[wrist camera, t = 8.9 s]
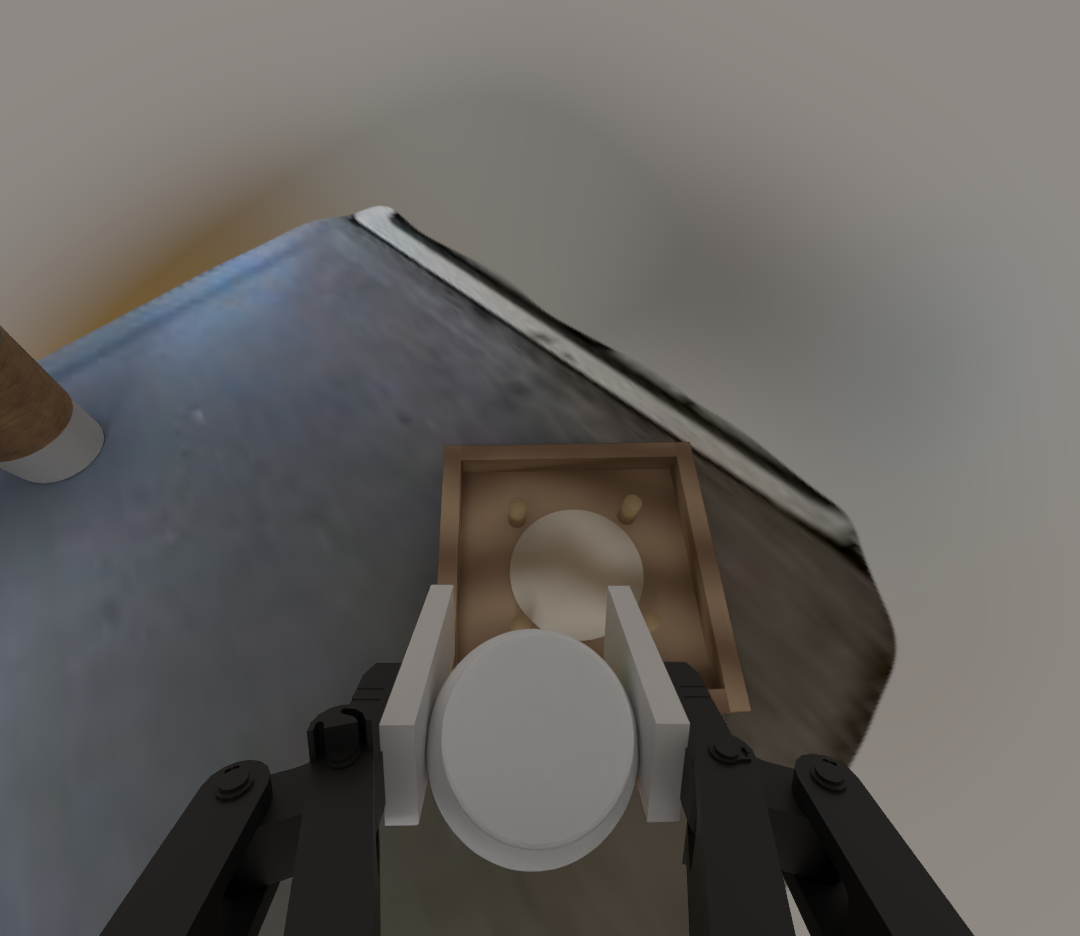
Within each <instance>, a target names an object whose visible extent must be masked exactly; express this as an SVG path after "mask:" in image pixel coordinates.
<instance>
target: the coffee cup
mask: <svg viewBox="0 0 1080 936" xmlns="http://www.w3.org/2000/svg"><path fill="white" fill-rule="evenodd" d="M103 443H104V434H103V430H102V428H101V427H100V425H99V424H98V423H97V422H96V421H95V420H94V419H93V418H92V417H91V416H90V415H89V414H88V413H87V412H86V411H85V410H84V409H82V408H81V407H80V406H79V405H78V404H77V403H76V402H75V401H74V400H73V399H72V398H71V397H70V396H69V395H68V393H67V392H66V391H65V390H64V389H63V388H62V387H61V386H60V385H59V384H58V383H57V382H56V381H55V380H54V379H53V378H52V377H51V376H50V375H49V374H48V373H47V372H46V371H45V370H44V369H43V368H42V367H41V366H40V365H39V364H38V363H37V362H36V361H35V360H34V359H33V358H32V357H31V356H30V355H29V354H28V353H27V352H26V351H25V350H24V349H23V348H22V347H21V346H20V345H19V344H18V343H17V342H16V341H15V340H14V339H13V338H12V337H11V336H10V335H9V334H8V333H7V332H6V331H5V330H4V329H3V328H2V327H1V326H0V468H1V469H3V470H5V471H7V472H9V473H12V474H14V475H16V476H18V477H20V478H23V479H25V480H27V481H30V482H34V483H53V482H58V481H61V480H65V479H67V478H69V477H72V476H74V475H76V474H77V473H79V472H81V471H82V470H83V469H85V468H86V467H87V466H89V465H90V464H91V463H92V462H93V461H94V460H95V458H96V457H97V456H98V454H99V453H100V451H101V449H102V446H103Z"/></svg>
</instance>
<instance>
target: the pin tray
mask: <svg viewBox="0 0 1080 936" xmlns="http://www.w3.org/2000/svg"><path fill="white" fill-rule="evenodd" d="M437 585H453V587H454V640H455V656H454V661H453V665H452V670H451V672H452V671H453V670H454V668H455V667H456V666H457V665H458V664H459V663H460V662H461V661H462V660H463V659H464V658H465V657H466V656H467V655H468V654H469V653H470V652H471V651H472V650H474V649H475V648H477V647H478V646H479V645H481V644H482V643H484V642H486V641H487V640H489V639H491V638H494V637H496V636H498V635H501V634H503V633H507V632H510V631H515V630H522V629H544V630H552V631H556V632H559V633H562V634H565V635H568V636H570V637H572V638H575V639H577V640H578V641H580V642H582V643H583V644H585V645H587V646H588V647H589V648H591V649H592V650H593V651H595V652H596V653H597V654H598V655H599V656H600V657H601V658H602V659H603V660H604V661H605V658H604V639H605V623H606V607H607V591H608V586H630V588H631V591H632V593H633V595H634V598H635V600H636V602H637V604H638V607H639V609H640V611H641V613H642V616H643V618H644V620H645V622H646V625H647V627H648V629H649V632H650V634H651V636H652V638H653V641H654V643H655V645H656V647H657V650H658V652H659V654H660V657H661V659H662V661H663V662H687V663H688V664H689V665H690V666H691V667H692V668H693V669H695V670H696V671H697V672H698V673H699V675H700V676H701V678H702V680H703V682H704V684H705V687H706V688H707V690H708V691H709V693H710V695H711V699H713V701H714V703H715V705H716V706H717V708H718V710H719V712H720V714H721V715H727V714H735V713H741V712H747V711H751V709H750V704H749V700H748V695H747V691H746V687H745V682H744V678H743V674H742V669H741V665H740V660H739V656H738V652H737V647H736V643H735V638H734V634H733V630H732V625H731V621H730V617H729V612H728V608H727V603H726V599H725V595H724V590H723V586H722V582H721V577H720V573H719V568H718V564H717V560H716V555H715V551H714V546H713V542H712V538H711V533H710V529H709V525H708V520H707V516H706V511H705V507H704V503H703V498H702V494H701V489H700V485H699V481H698V476H697V472H696V468H695V463H694V459H693V454H692V450H691V446H690V442H670V443H608V444H546V445H484V446H444V465H443V484H442V503H441V522H440V542H439V561H438V580H437Z"/></svg>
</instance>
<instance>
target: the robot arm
mask: <svg viewBox="0 0 1080 936" xmlns="http://www.w3.org/2000/svg"><path fill="white" fill-rule="evenodd" d="M454 656H455V640H454V587H453V585H431V587H430V590H429V592H428V595H427V598H426V600H425V603H424V606H423V608H422V611H421V614H420V616H419V619H418V622H417V624H416V627H415V630H414V633H413V635H412V638H411V641H410V643H409V646H408V649H407V651H406V654H405V657H404V659H403V662H402V663H376V664H375V665H374V666H373V667H371V668H370V669H369V670H368V671H367V672H366V673H365V674H364V675H363V677H362V679H361V681H360V683H359V685H358V687H357V690H356V691H355V694H354V696H353V698H352V701H351V702H350V704H349V705H340V706H336V707H333V708H330V709H328V710H326V711H324V712H323V713H321V714H319V715H318V716H317V717H316V718H315V719H314V720H313V721H312V722H311V723H310V726H309V728H308V730H307V737H308V746H309V756H310V762H309V763H307V764H305V765H303V766H300V767H297V768H294V769H290V770H286V771H283V772H279V773H275V774H271V775H270V771H269V768H268V766H267V765H265V764H264V763H262V762H261V761H255V760H246V761H241V762H236V763H234V764H231V765H229V766H226V767H224V768H222V769H221V770H219V771H218V772H216V773H215V774H213V775H212V776H210V778H209V779H208V780H207V781H206V782H205V783H204V784H203V785H202V786H201V788H200V789H199V791H198V792H197V794H196V795H195V796H194V798H193V799H192V801H191V802H190V804H189V805H188V807H187V808H186V810H185V811H184V813H183V814H182V815H181V817H180V818H179V820H178V821H177V823H176V824H175V826H174V827H173V829H172V830H171V832H170V833H169V834H168V836H167V837H166V839H165V840H164V842H163V843H162V845H161V846H160V848H159V849H158V851H157V852H156V853H155V855H154V856H153V858H152V859H151V861H150V862H149V864H148V865H147V867H146V868H145V870H144V871H143V872H142V874H141V875H140V877H139V878H138V880H137V881H136V883H135V884H134V886H133V887H132V889H131V890H130V891H129V893H128V894H127V896H126V897H125V899H124V900H123V902H122V903H121V905H120V906H119V908H118V909H117V910H116V912H115V913H114V915H113V916H112V918H111V919H110V921H109V922H108V924H107V925H106V927H105V928H104V929H103V931H102V932H101V934H100V935H99V936H258V934H259V931H260V929H261V926H262V924H263V922H264V919H265V917H266V914H267V912H268V910H269V907H270V905H271V902H272V900H273V898H274V895H275V893H276V890H277V888H278V886H279V883H280V881H282V880H285V879H288V878H291V877H293V879H292V885H291V892H290V898H289V905H288V911H287V918H286V925H285V931H284V936H381V935H380V839H379V824H380V821H381V818H382V814H383V811H384V814H385V826H395V825H419V820H420V815H421V810H422V806H423V801H424V796H425V792H426V787H427V782H428V778H429V776H428V770H427V761H426V745H427V734H428V728H429V723H430V718H431V714H432V710H433V707H434V705H435V702H436V699H437V697H438V695H439V692H440V690H441V688H442V687H443V685H444V683H445V681H446V680H447V678H448V677H449V675H450V674H451V670H452V665H453V661H454ZM604 658H605V662H606V663H607V664H608V665H609V666H610V668H611V669H612V670H613V671H614V673H615V674H616V676H617V677H618V679H619V680H620V682H621V684H622V686H623V687H624V689H625V692H626V694H627V696H628V698H629V700H630V703H631V706H632V709H633V712H634V716H635V719H636V725H637V731H638V769H637V775H636V781H637V785H638V789H639V793H640V796H641V800H642V804H643V808H644V812H645V816H646V819H647V822H679V818H680V809H681V803H682V806H683V809H684V812H685V815H686V818H687V828H686V837H685V845H684V854H683V862H682V864H686V865H687V887H688V911H689V935H690V936H796V935H795V930H794V926H793V921H792V917H791V912H790V908H789V903H788V899H787V894H786V890H785V885H784V881H783V877H784V879H785V881H786V883H787V885H788V888H789V890H790V892H791V894H792V896H793V898H794V901H795V903H796V905H797V907H798V909H799V911H800V914H801V916H802V918H803V920H804V922H805V925H806V927H807V929H808V931H809V933H810V935H811V936H974V935H973V933H972V932H971V931H970V929H969V928H968V927H967V925H966V924H965V923H964V921H963V920H962V918H961V917H960V916H959V914H958V913H957V912H956V910H955V909H954V908H953V906H952V905H951V903H950V902H949V901H948V899H947V898H946V897H945V895H944V894H943V893H942V892H941V890H940V888H939V887H938V886H937V884H936V883H935V882H934V880H933V879H932V878H931V876H930V875H929V874H928V872H927V871H926V869H925V868H924V867H923V865H922V864H921V863H920V861H919V860H918V859H917V857H916V856H915V855H914V853H913V852H912V850H911V849H910V848H909V846H908V845H907V844H906V842H905V841H904V840H903V838H902V837H901V835H900V834H899V833H898V831H897V830H896V829H895V827H894V826H893V825H892V823H891V822H890V821H889V819H888V818H887V817H886V815H885V814H884V813H883V811H882V810H881V808H880V807H879V806H878V804H877V803H876V801H875V800H874V799H873V797H872V796H871V795H870V793H869V792H868V791H867V789H866V788H865V786H864V785H863V784H862V782H861V781H860V780H859V778H858V777H857V776H856V775H855V774H854V773H853V772H852V771H851V770H850V769H849V768H847V767H846V766H844V765H843V764H841V763H840V762H838V761H836V760H834V759H831V758H829V757H826V756H823V755H817V754H808V755H802V756H801V757H800V758H798V759H797V760H796V764H795V769H793V768H789V767H785V766H781V765H777V764H773V763H769V762H766V761H763V760H760V759H758V758H756V757H755V755H754V753H753V750H752V749H751V748H750V747H749V746H748V745H747V744H746V743H745V742H744V741H742V740H740V739H739V738H737V737H735V736H733V735H731V733H730V731H729V729H728V727H727V725H726V723H725V721H724V720H723V718H722V716H721V714H720V712H719V710H718V708H717V706H716V705H715V703H714V701H713V699H711V695H710V693H709V691H708V690H707V688H706V687H705V684H704V682H703V680H702V678H701V676H700V675H699V673H698V672H697V671H696V670H695V669H693V668H692V667H691V666H690V665H689V664H688V663H687V662H663V661H662V659H661V657H660V654H659V652H658V650H657V647H656V645H655V643H654V641H653V638H652V636H651V634H650V632H649V629H648V627H647V625H646V622H645V620H644V618H643V616H642V613H641V611H640V609H639V607H638V604H637V602H636V600H635V598H634V595H633V593H632V591H631V588H630V586H608V591H607V607H606V623H605V639H604ZM782 874H783V876H782Z"/></svg>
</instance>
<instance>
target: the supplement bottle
mask: <svg viewBox="0 0 1080 936" xmlns="http://www.w3.org/2000/svg"><path fill="white" fill-rule="evenodd" d="M426 761H427V770H428V776H429V781H430V785H431V789H432V792H433V795H434V798H435V801H436V803H437V806H438V808H439V810H440V812H441V814H442V815H443V817H444V819H445V820H446V822H447V823H448V825H449V826H450V828H451V829H452V831H453V832H454V833H455V834H456V835H457V836H458V837H459V839H460V840H461V841H462V842H463V843H464V844H465V845H466V846H467V847H469V848H470V849H471V850H472V851H473V852H475V853H476V854H478V855H479V856H481V857H483V858H484V859H486V860H488V861H490V862H492V863H494V864H497V865H499V866H502V867H505V868H508V869H512V870H518V871H545V870H551V869H556V868H559V867H563V866H566V865H568V864H570V863H573V862H575V861H577V860H579V859H580V858H582V857H584V856H586V855H587V854H588V853H590V852H591V851H592V850H594V849H595V848H596V847H598V846H599V845H600V844H601V843H602V842H603V841H604V839H605V838H606V837H607V836H608V835H609V834H610V833H611V832H612V830H613V829H614V827H615V826H616V825H617V823H618V821H619V820H620V818H621V817H622V815H623V813H624V811H625V809H626V807H627V805H628V802H629V800H630V797H631V795H632V791H633V788H634V784H635V780H636V775H637V769H638V731H637V725H636V719H635V716H634V712H633V709H632V706H631V703H630V700H629V698H628V696H627V694H626V692H625V689H624V687H623V686H622V684H621V682H620V680H619V679H618V677H617V676H616V674H615V673H614V671H613V670H612V669H611V668H610V666H609V665H608V664H607V663H606V662H605V661H604V660H603V659H602V658H601V657H600V656H599V655H598V654H597V653H596V652H595V651H593V650H592V649H591V648H589V647H588V646H587V645H585V644H583V643H582V642H580V641H578V640H577V639H575V638H572V637H570V636H568V635H565V634H562V633H559V632H556V631H552V630H544V629H522V630H515V631H510V632H507V633H503V634H501V635H498V636H496V637H494V638H491V639H489V640H487V641H486V642H484V643H482V644H481V645H479V646H478V647H477V648H475V649H474V650H472V651H471V652H470V653H469V654H468V655H467V656H466V657H465V658H464V659H463V660H462V661H461V662H460V663H459V664H458V665H457V666H456V667H455V668H454V670H453V671H452V672H451V674H450V675H449V677H448V678H447V680H446V681H445V683H444V685H443V687H442V688H441V690H440V692H439V695H438V697H437V699H436V702H435V705H434V707H433V710H432V714H431V718H430V723H429V728H428V734H427V745H426Z"/></svg>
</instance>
